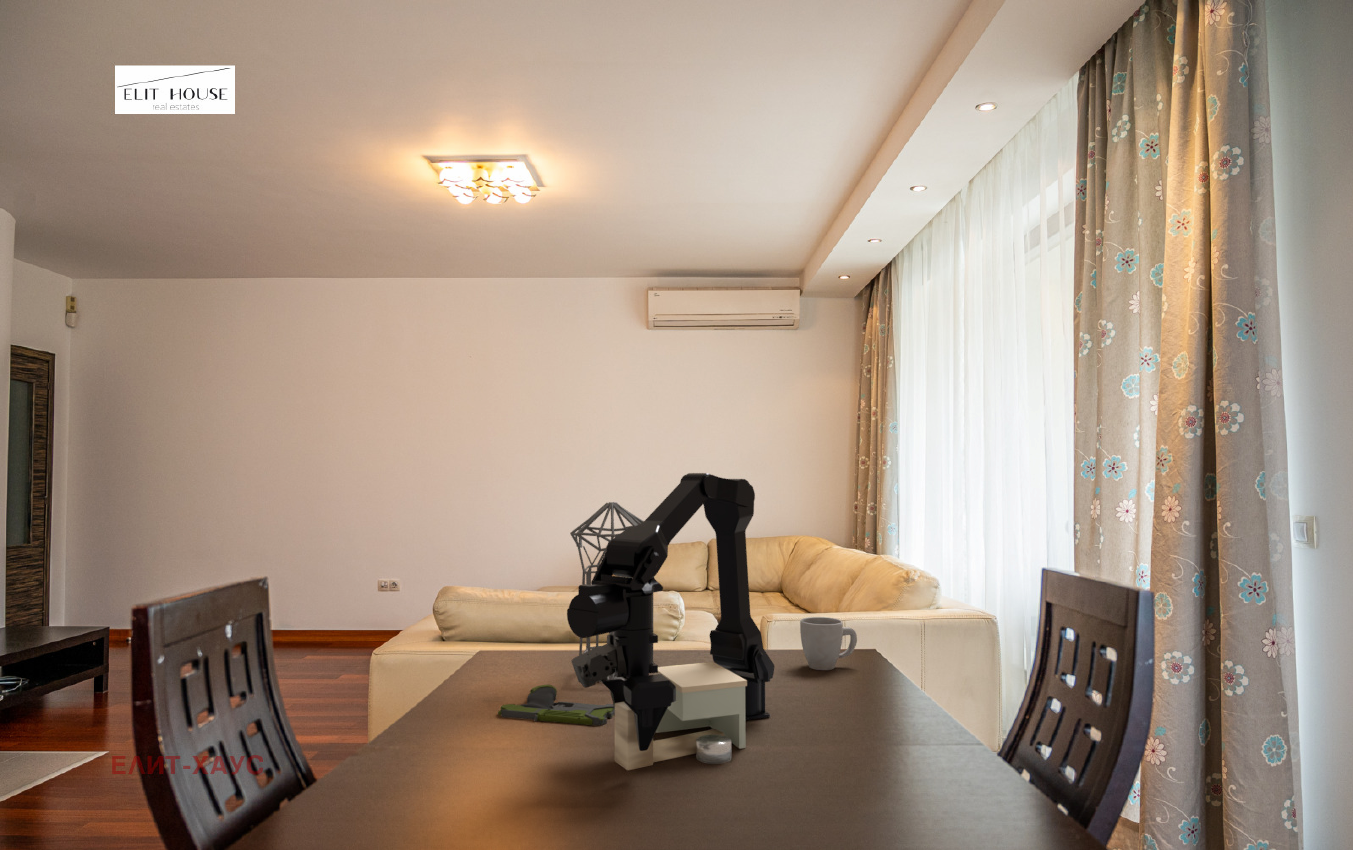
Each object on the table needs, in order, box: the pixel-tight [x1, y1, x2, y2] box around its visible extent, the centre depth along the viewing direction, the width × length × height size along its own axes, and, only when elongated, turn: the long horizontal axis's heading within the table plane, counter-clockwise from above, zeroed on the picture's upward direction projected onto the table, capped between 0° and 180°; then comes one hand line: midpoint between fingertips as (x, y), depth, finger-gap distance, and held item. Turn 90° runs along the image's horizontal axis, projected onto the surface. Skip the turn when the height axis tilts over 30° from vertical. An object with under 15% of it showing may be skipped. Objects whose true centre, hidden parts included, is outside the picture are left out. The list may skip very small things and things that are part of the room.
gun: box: [497, 684, 615, 726], centre depth 134 cm, size 2×19×15 cm
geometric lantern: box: [570, 501, 644, 683], centre depth 156 cm, size 16×16×35 cm
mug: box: [799, 616, 858, 671], centre depth 163 cm, size 12×9×10 cm
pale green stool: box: [653, 661, 747, 750], centre depth 119 cm, size 10×12×10 cm
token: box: [695, 735, 732, 765], centre depth 111 cm, size 5×5×2 cm
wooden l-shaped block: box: [614, 702, 724, 771], centre depth 112 cm, size 16×4×8 cm, turn 121°
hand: (632, 739), depth 109 cm, fingers open, 9 cm apart
